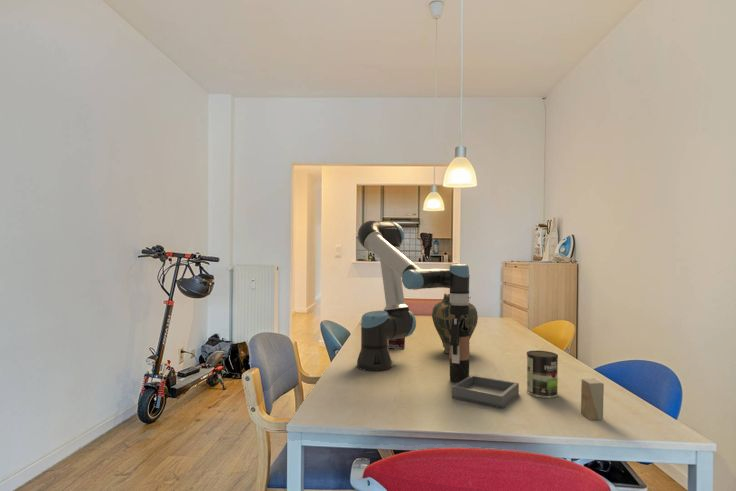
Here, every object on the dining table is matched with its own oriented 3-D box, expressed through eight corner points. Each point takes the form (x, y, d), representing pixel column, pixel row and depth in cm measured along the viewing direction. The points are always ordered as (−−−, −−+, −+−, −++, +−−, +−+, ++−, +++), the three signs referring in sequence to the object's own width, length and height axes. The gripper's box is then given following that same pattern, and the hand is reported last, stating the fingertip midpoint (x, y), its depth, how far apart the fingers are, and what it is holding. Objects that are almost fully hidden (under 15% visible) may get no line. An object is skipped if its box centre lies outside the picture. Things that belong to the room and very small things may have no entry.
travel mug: (469, 383, 165) (469, 330, 166) (449, 382, 167) (449, 330, 167) (469, 378, 173) (469, 327, 173) (449, 376, 174) (449, 326, 175)
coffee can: (564, 395, 153) (564, 355, 153) (543, 400, 148) (543, 358, 148) (540, 387, 162) (540, 349, 162) (520, 391, 157) (520, 351, 157)
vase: (482, 358, 205) (482, 294, 205) (435, 357, 205) (435, 293, 206) (472, 347, 227) (472, 289, 227) (429, 347, 227) (429, 289, 228)
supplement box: (388, 348, 223) (388, 317, 223) (388, 346, 228) (388, 316, 228) (405, 349, 222) (405, 318, 222) (405, 347, 227) (405, 316, 227)
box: (580, 414, 135) (580, 378, 136) (593, 413, 136) (593, 377, 136) (590, 420, 130) (590, 383, 130) (604, 420, 131) (604, 383, 131)
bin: (451, 398, 149) (451, 386, 149) (471, 385, 164) (471, 374, 164) (502, 409, 139) (502, 396, 139) (518, 394, 153) (518, 383, 153)
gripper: (461, 308, 157) (462, 367, 157) (475, 301, 180) (476, 353, 179) (441, 307, 161) (441, 365, 160) (457, 300, 183) (458, 351, 183)
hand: (460, 359), depth 170 cm, fingers open, 13 cm apart
